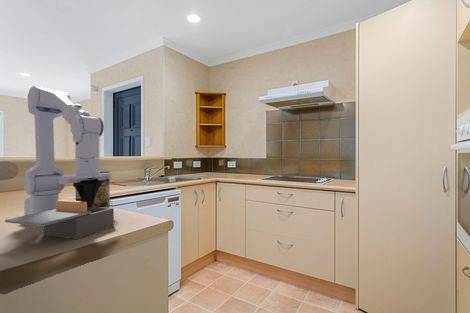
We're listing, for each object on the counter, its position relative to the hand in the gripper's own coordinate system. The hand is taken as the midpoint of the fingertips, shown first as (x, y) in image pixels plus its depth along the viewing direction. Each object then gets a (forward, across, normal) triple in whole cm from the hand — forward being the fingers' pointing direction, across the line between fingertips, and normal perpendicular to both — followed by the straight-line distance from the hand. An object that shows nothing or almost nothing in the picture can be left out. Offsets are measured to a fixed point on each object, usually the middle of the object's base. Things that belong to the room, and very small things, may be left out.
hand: (88, 207), depth 65 cm
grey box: (+7, +1, +4) cm, 8 cm away
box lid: (+1, -7, +4) cm, 8 cm away
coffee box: (+7, +14, +14) cm, 21 cm away
